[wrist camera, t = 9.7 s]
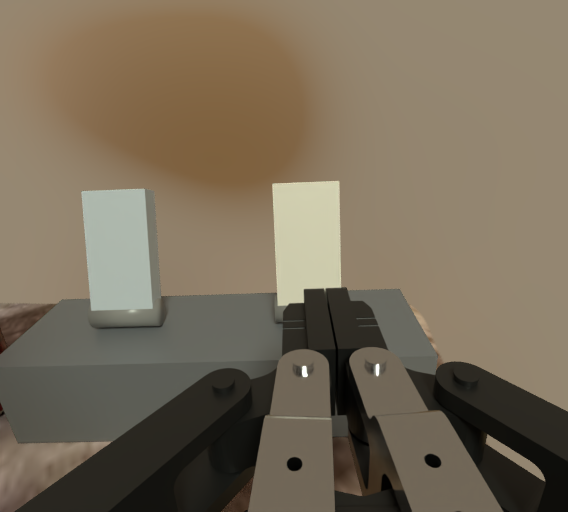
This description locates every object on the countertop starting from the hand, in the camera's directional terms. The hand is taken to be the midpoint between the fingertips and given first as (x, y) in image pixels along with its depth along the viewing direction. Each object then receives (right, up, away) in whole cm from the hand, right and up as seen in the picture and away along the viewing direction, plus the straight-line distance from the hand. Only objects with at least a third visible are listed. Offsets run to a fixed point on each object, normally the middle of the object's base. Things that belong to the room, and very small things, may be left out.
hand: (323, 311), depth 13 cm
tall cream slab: (0, -1, +11) cm, 11 cm away
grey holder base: (-5, -8, +14) cm, 17 cm away
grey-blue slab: (-12, -2, +12) cm, 17 cm away
